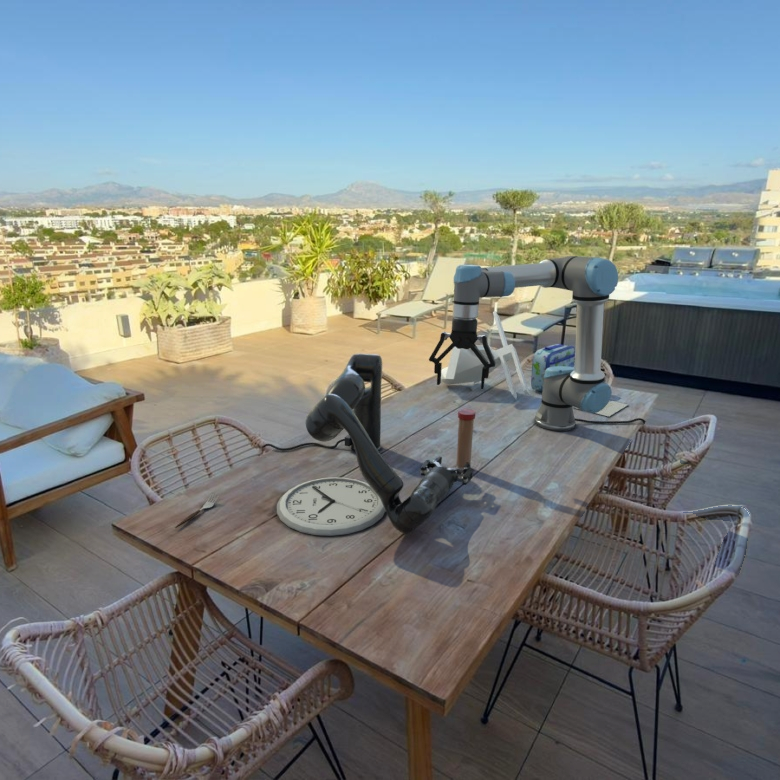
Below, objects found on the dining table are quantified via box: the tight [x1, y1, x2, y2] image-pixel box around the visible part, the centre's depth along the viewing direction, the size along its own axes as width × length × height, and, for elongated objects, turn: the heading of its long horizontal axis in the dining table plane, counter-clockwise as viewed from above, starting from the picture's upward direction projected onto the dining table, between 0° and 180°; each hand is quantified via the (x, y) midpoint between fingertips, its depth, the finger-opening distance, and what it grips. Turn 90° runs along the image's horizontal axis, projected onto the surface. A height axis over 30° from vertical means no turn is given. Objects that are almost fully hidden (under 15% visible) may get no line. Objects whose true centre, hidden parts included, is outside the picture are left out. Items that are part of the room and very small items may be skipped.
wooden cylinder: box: [455, 418, 475, 473], centre depth 163 cm, size 4×4×19 cm
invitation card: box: [573, 399, 629, 418], centre depth 226 cm, size 21×1×15 cm
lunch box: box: [530, 343, 576, 392], centre depth 248 cm, size 26×11×21 cm, turn 134°
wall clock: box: [276, 476, 387, 537], centre depth 142 cm, size 30×2×30 cm
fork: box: [174, 492, 220, 529], centre depth 137 cm, size 3×16×2 cm, turn 160°
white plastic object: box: [441, 310, 531, 400], centre depth 245 cm, size 37×45×31 cm
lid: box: [457, 408, 476, 420], centre depth 160 cm, size 5×5×2 cm
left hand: (454, 462), depth 155 cm, fingers open, 8 cm apart
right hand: (460, 386), depth 163 cm, fingers open, 13 cm apart
